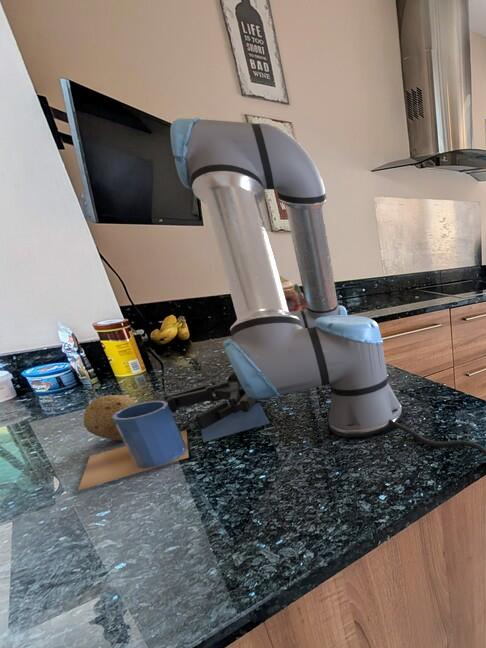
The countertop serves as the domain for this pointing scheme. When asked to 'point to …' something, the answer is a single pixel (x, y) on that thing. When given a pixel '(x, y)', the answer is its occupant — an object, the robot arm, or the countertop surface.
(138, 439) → the blue cup
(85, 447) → the countertop surface
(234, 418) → the blue mat
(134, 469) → the cork mat
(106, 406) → the brown potato
